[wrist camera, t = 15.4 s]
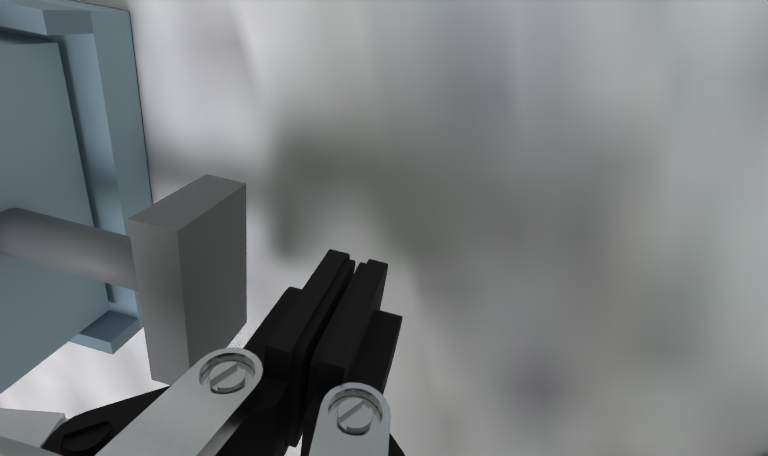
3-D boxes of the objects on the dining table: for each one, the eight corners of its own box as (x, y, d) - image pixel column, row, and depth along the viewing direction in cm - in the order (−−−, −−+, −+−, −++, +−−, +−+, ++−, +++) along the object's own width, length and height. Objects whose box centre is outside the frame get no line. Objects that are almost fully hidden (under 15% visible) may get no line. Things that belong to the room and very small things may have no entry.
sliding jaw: (267, 85, 12) (98, 137, 7) (262, 352, 16) (161, 502, 11) (-41, 22, 13) (-384, 26, 8) (36, 288, 18) (-146, 398, 13)
